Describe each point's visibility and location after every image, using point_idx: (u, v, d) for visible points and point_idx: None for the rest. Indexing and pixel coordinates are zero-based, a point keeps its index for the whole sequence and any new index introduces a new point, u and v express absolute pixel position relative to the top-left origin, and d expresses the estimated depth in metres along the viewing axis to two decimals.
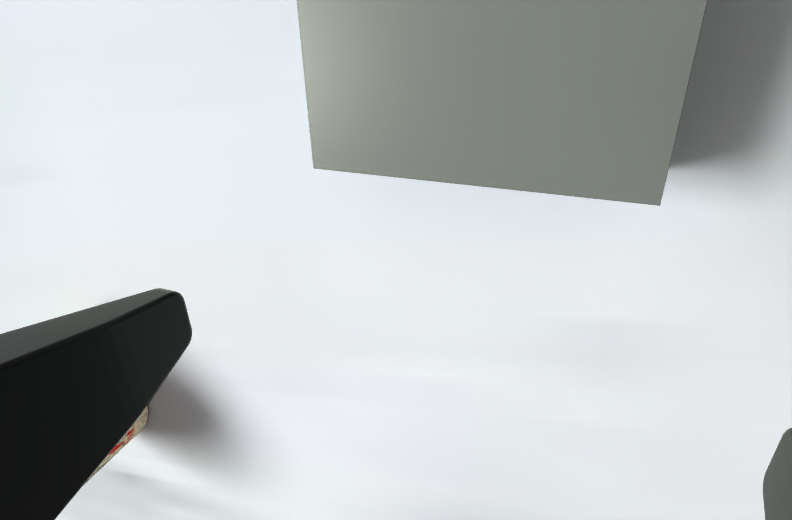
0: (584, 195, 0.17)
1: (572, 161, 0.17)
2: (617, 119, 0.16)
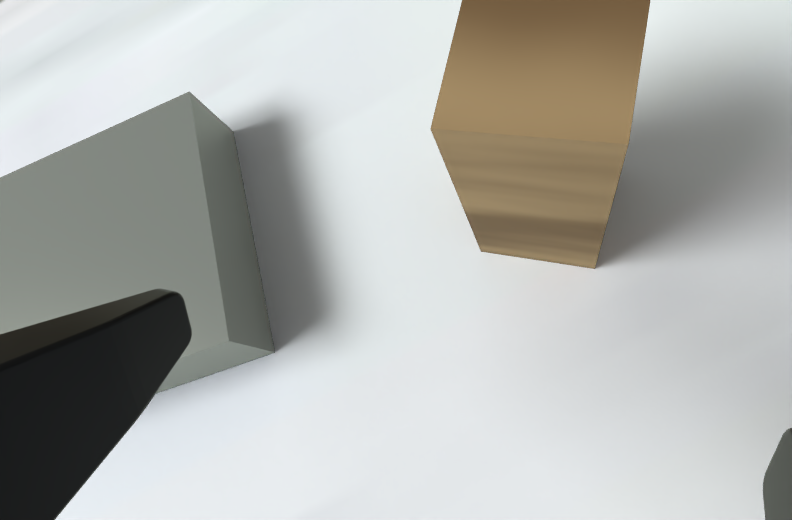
0: None
1: None
2: (184, 293, 0.21)
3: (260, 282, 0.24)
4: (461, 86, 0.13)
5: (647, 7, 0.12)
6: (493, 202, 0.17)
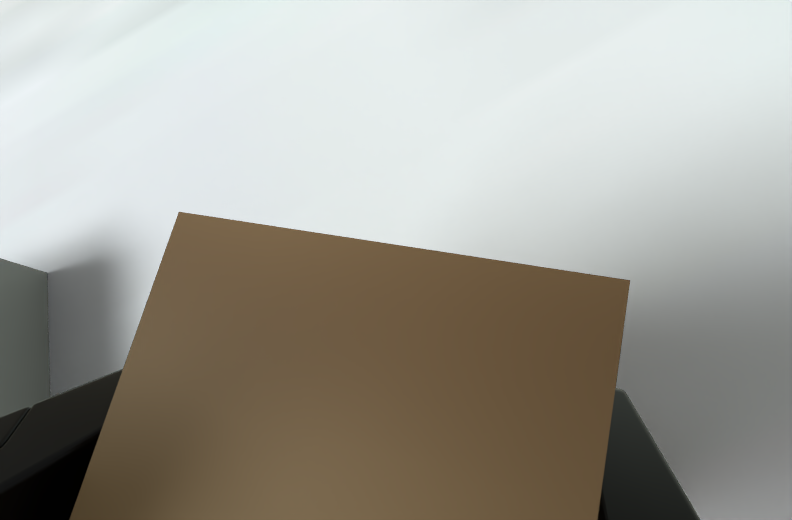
0: None
1: None
2: None
3: None
4: None
5: (608, 402, 0.04)
6: None
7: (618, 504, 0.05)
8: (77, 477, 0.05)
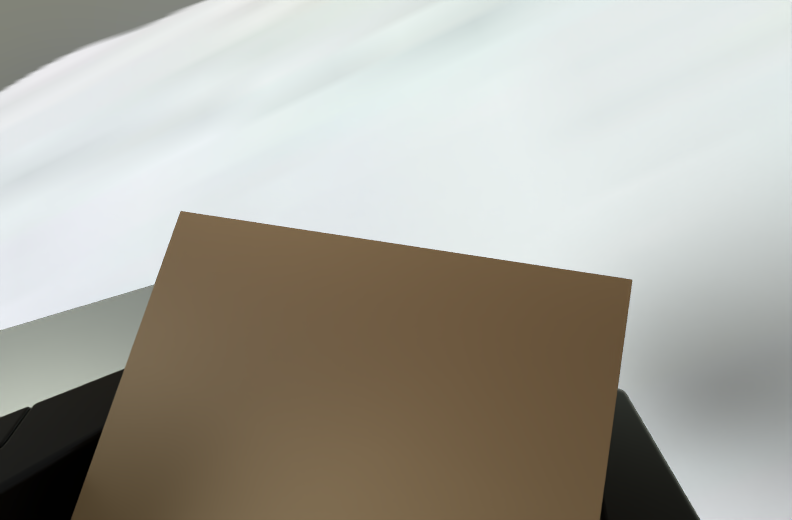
0: None
1: None
2: None
3: None
4: None
5: (610, 402, 0.04)
6: None
7: (618, 504, 0.05)
8: (77, 477, 0.05)
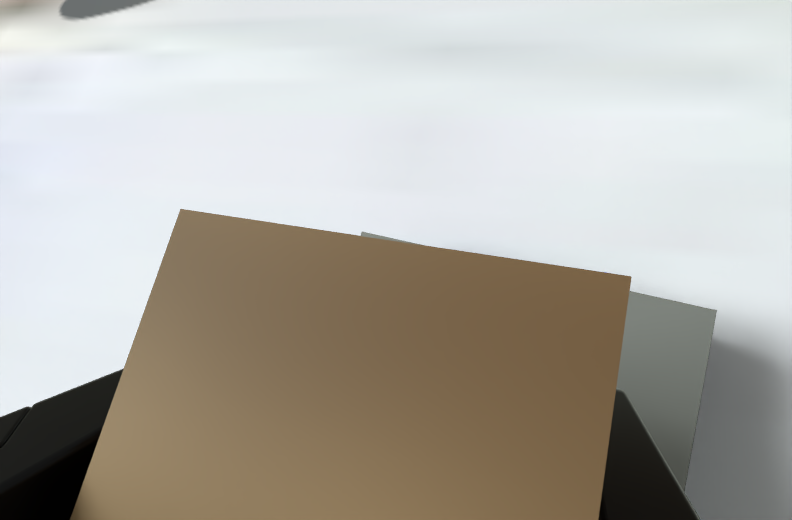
0: None
1: None
2: None
3: None
4: None
5: (609, 398, 0.04)
6: None
7: (618, 504, 0.05)
8: (77, 477, 0.05)
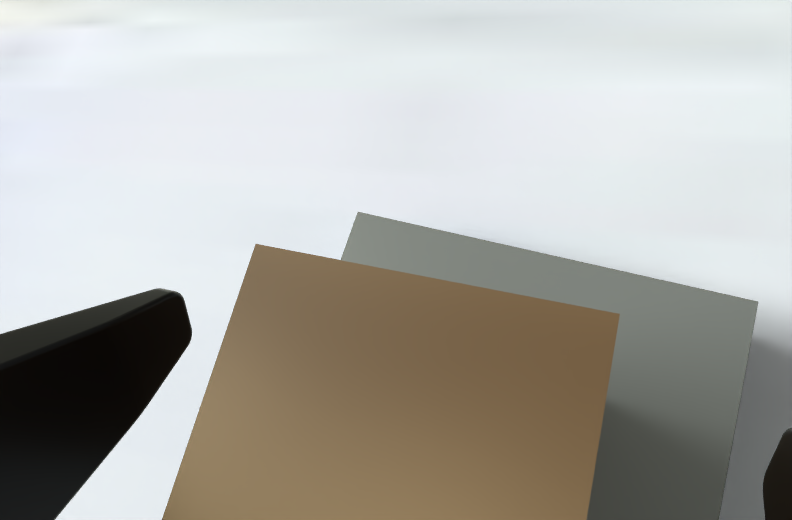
0: None
1: None
2: None
3: None
4: (202, 519, 0.06)
5: (600, 407, 0.05)
6: None
7: None
8: None
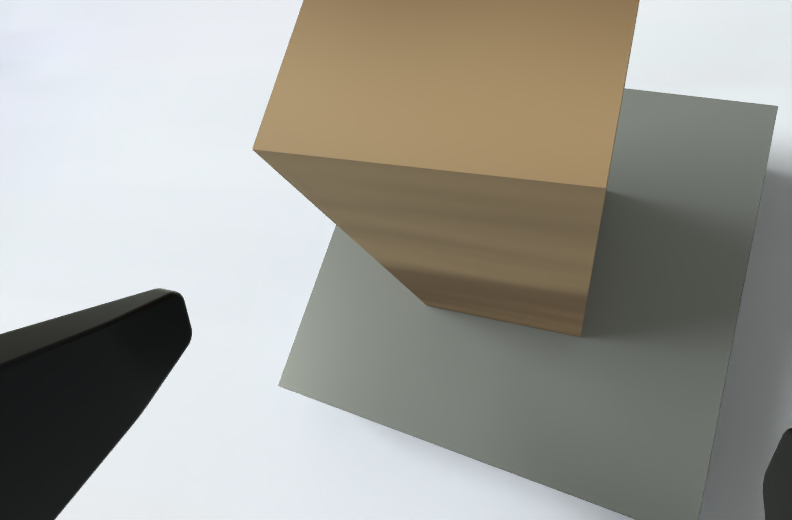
0: (599, 502, 0.14)
1: (587, 454, 0.14)
2: (644, 415, 0.14)
3: None
4: (311, 73, 0.07)
5: None
6: (411, 257, 0.11)
7: None
8: None
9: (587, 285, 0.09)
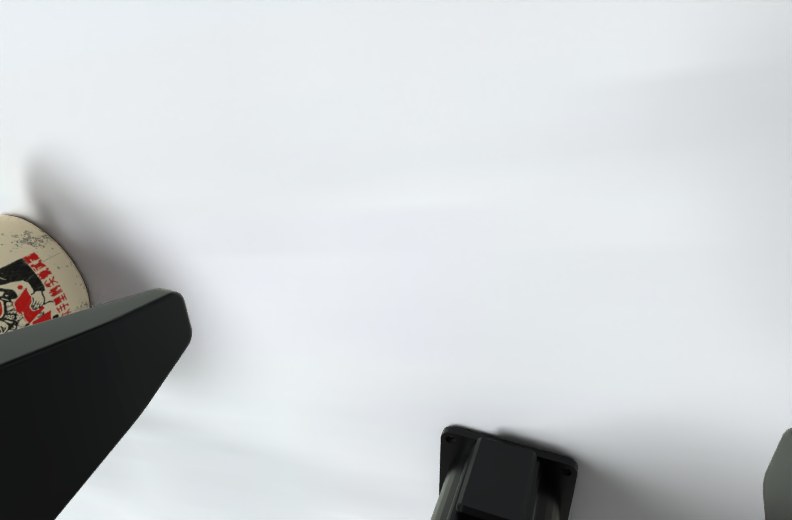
0: None
1: None
2: None
3: None
4: None
5: None
6: None
7: None
8: None
9: None
